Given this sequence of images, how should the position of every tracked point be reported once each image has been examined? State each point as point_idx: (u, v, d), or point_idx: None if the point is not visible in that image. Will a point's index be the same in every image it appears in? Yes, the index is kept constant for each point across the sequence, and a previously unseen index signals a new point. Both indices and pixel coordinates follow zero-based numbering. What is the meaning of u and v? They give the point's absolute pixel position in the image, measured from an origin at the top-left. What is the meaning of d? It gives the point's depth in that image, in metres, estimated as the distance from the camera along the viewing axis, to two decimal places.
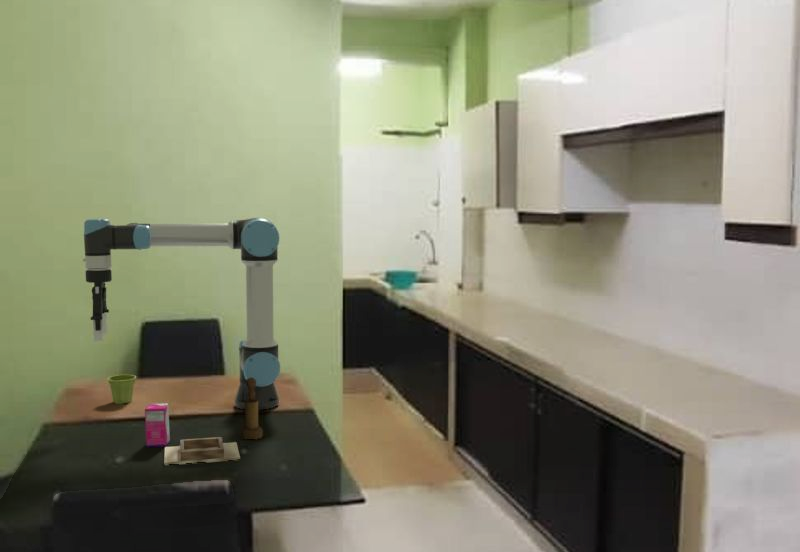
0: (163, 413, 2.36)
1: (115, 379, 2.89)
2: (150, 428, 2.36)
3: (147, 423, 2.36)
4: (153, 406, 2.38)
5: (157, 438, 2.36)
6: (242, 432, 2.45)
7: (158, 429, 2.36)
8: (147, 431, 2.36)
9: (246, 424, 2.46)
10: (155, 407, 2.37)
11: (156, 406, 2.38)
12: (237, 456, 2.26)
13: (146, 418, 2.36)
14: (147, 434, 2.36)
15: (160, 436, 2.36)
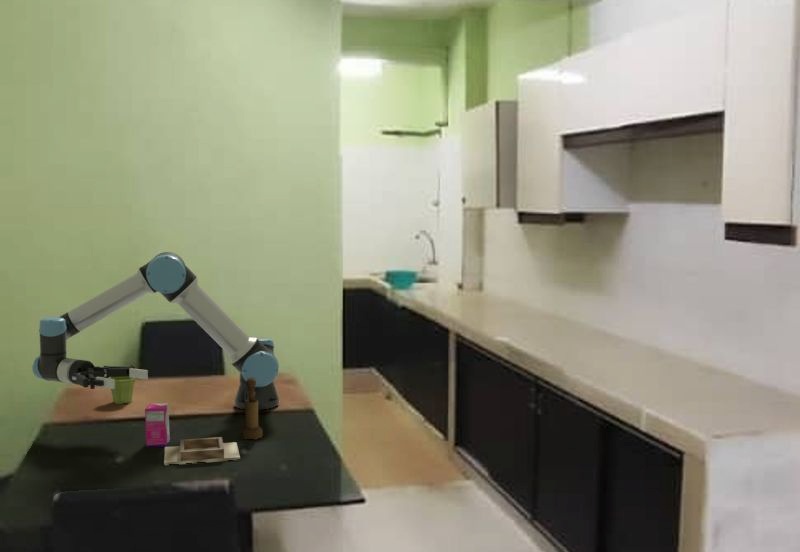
0: (163, 413, 2.36)
1: (115, 379, 2.89)
2: (150, 428, 2.36)
3: (147, 423, 2.36)
4: (153, 406, 2.38)
5: (157, 438, 2.36)
6: (242, 432, 2.45)
7: (158, 429, 2.36)
8: (147, 431, 2.36)
9: (246, 424, 2.46)
10: (155, 407, 2.37)
11: (156, 406, 2.38)
12: (237, 456, 2.26)
13: (146, 418, 2.36)
14: (147, 434, 2.36)
15: (160, 436, 2.36)
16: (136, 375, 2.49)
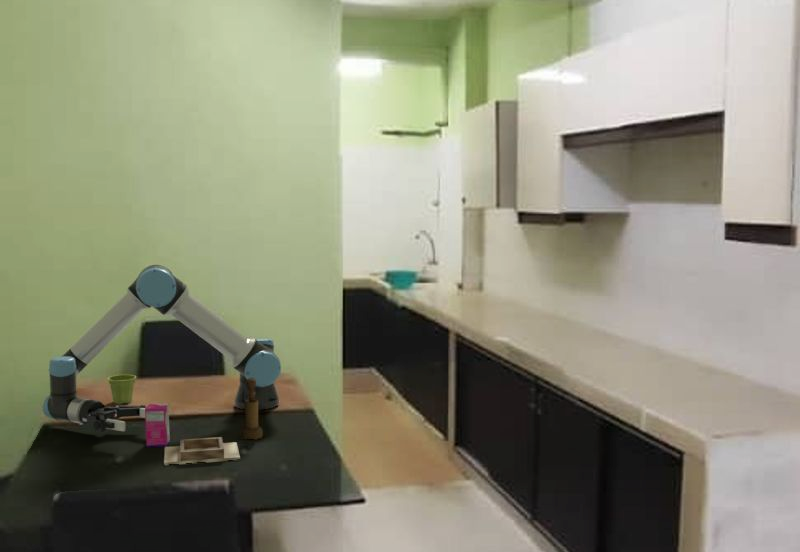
0: (163, 413, 2.36)
1: (115, 379, 2.89)
2: (150, 428, 2.36)
3: (147, 423, 2.36)
4: (153, 406, 2.38)
5: (157, 438, 2.36)
6: (242, 432, 2.45)
7: (158, 429, 2.36)
8: (147, 431, 2.36)
9: (246, 424, 2.46)
10: (155, 407, 2.37)
11: (156, 406, 2.38)
12: (237, 456, 2.26)
13: (146, 418, 2.36)
14: (147, 434, 2.36)
15: (160, 436, 2.36)
16: None
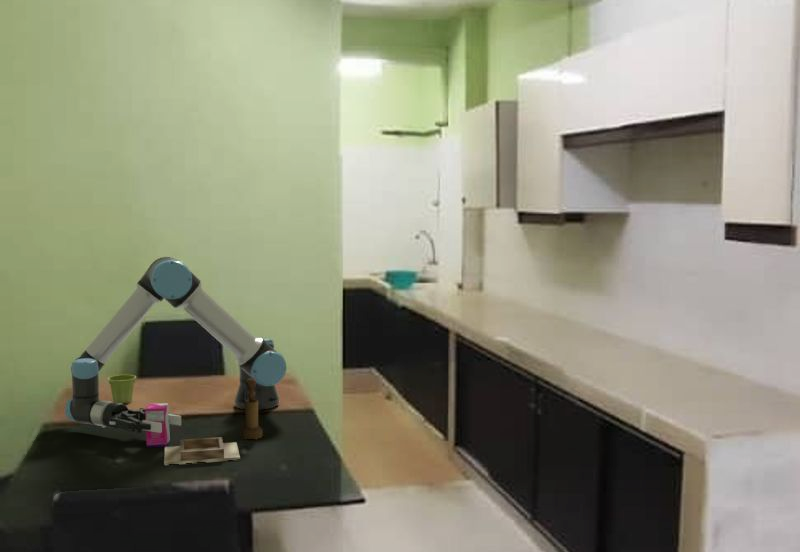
0: (163, 413, 2.36)
1: (115, 379, 2.89)
2: None
3: None
4: (153, 406, 2.38)
5: (157, 438, 2.36)
6: (242, 432, 2.45)
7: None
8: (147, 431, 2.36)
9: (246, 424, 2.46)
10: (155, 406, 2.37)
11: (156, 406, 2.38)
12: (237, 456, 2.26)
13: (146, 418, 2.36)
14: (147, 434, 2.36)
15: (160, 436, 2.36)
16: (169, 421, 2.42)
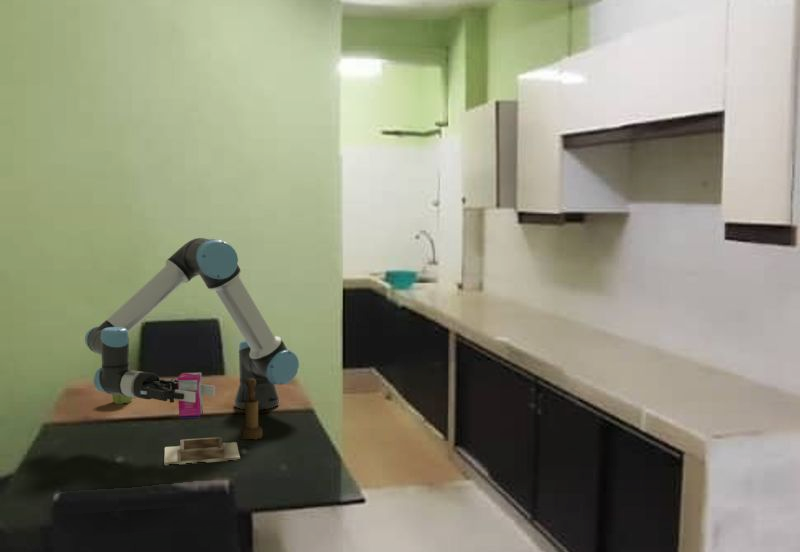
0: (196, 382, 2.25)
1: None
2: None
3: None
4: (186, 375, 2.27)
5: (190, 409, 2.26)
6: (242, 432, 2.45)
7: None
8: (180, 401, 2.26)
9: (246, 424, 2.46)
10: (188, 375, 2.27)
11: (189, 375, 2.27)
12: (237, 456, 2.26)
13: (179, 387, 2.25)
14: (180, 404, 2.26)
15: (193, 407, 2.26)
16: (202, 391, 2.31)
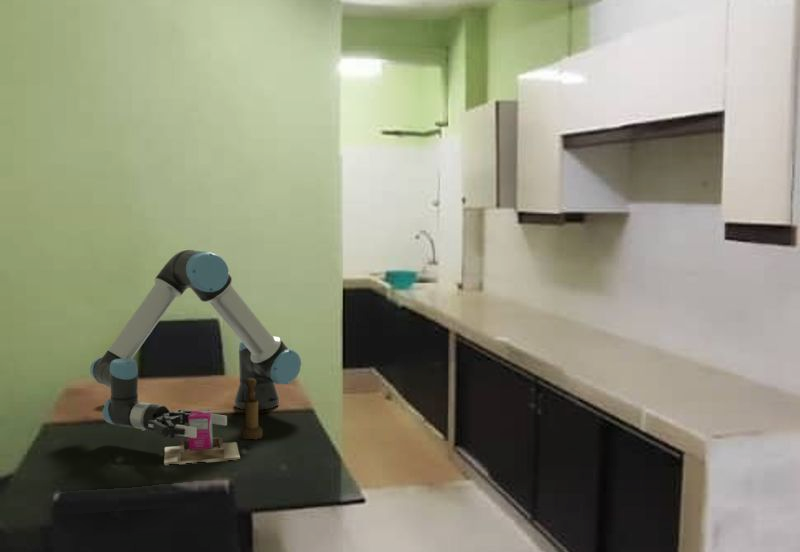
0: (207, 421, 2.25)
1: None
2: None
3: None
4: (196, 413, 2.27)
5: (201, 447, 2.26)
6: (242, 432, 2.45)
7: (202, 438, 2.26)
8: (190, 440, 2.25)
9: (246, 424, 2.46)
10: (198, 414, 2.27)
11: (199, 413, 2.27)
12: (237, 456, 2.26)
13: None
14: (190, 443, 2.26)
15: (203, 445, 2.26)
16: (214, 421, 2.34)
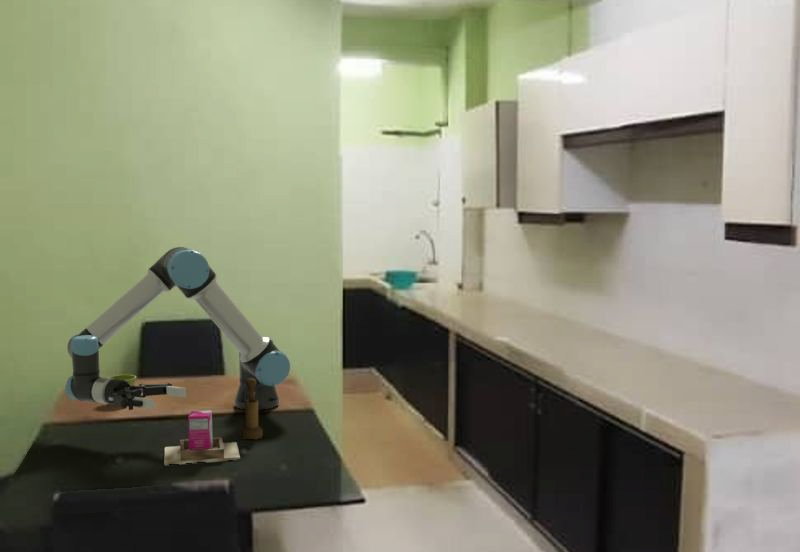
0: (207, 421, 2.25)
1: None
2: (193, 437, 2.25)
3: (190, 431, 2.25)
4: (196, 413, 2.27)
5: (201, 447, 2.26)
6: (242, 432, 2.45)
7: (202, 438, 2.26)
8: (190, 440, 2.25)
9: (246, 424, 2.46)
10: (198, 414, 2.27)
11: (199, 413, 2.27)
12: (237, 456, 2.26)
13: (189, 426, 2.25)
14: (190, 443, 2.26)
15: (203, 445, 2.26)
16: (174, 393, 2.41)
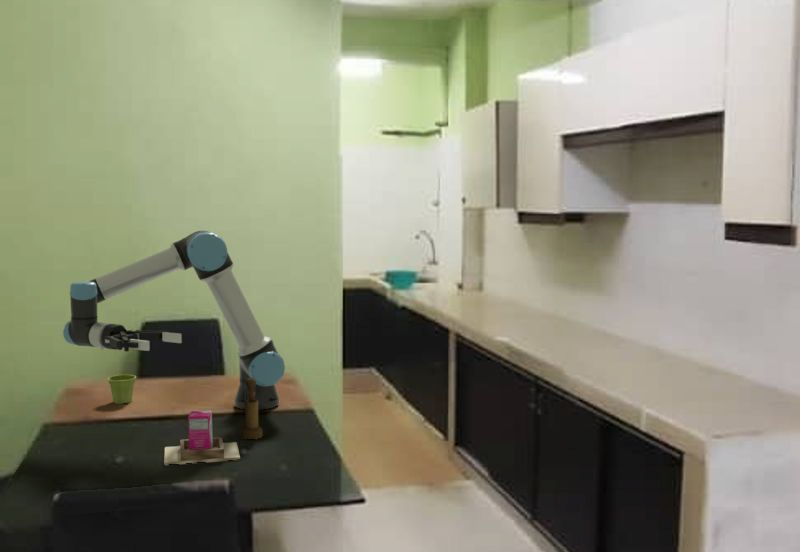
0: (207, 421, 2.25)
1: (115, 379, 2.89)
2: (193, 437, 2.25)
3: (190, 431, 2.25)
4: (196, 413, 2.27)
5: (201, 447, 2.26)
6: (242, 432, 2.45)
7: (202, 438, 2.26)
8: (190, 440, 2.25)
9: (246, 424, 2.46)
10: (198, 414, 2.27)
11: (199, 413, 2.27)
12: (237, 456, 2.26)
13: (189, 426, 2.25)
14: (190, 443, 2.26)
15: (203, 445, 2.26)
16: (169, 339, 2.44)
